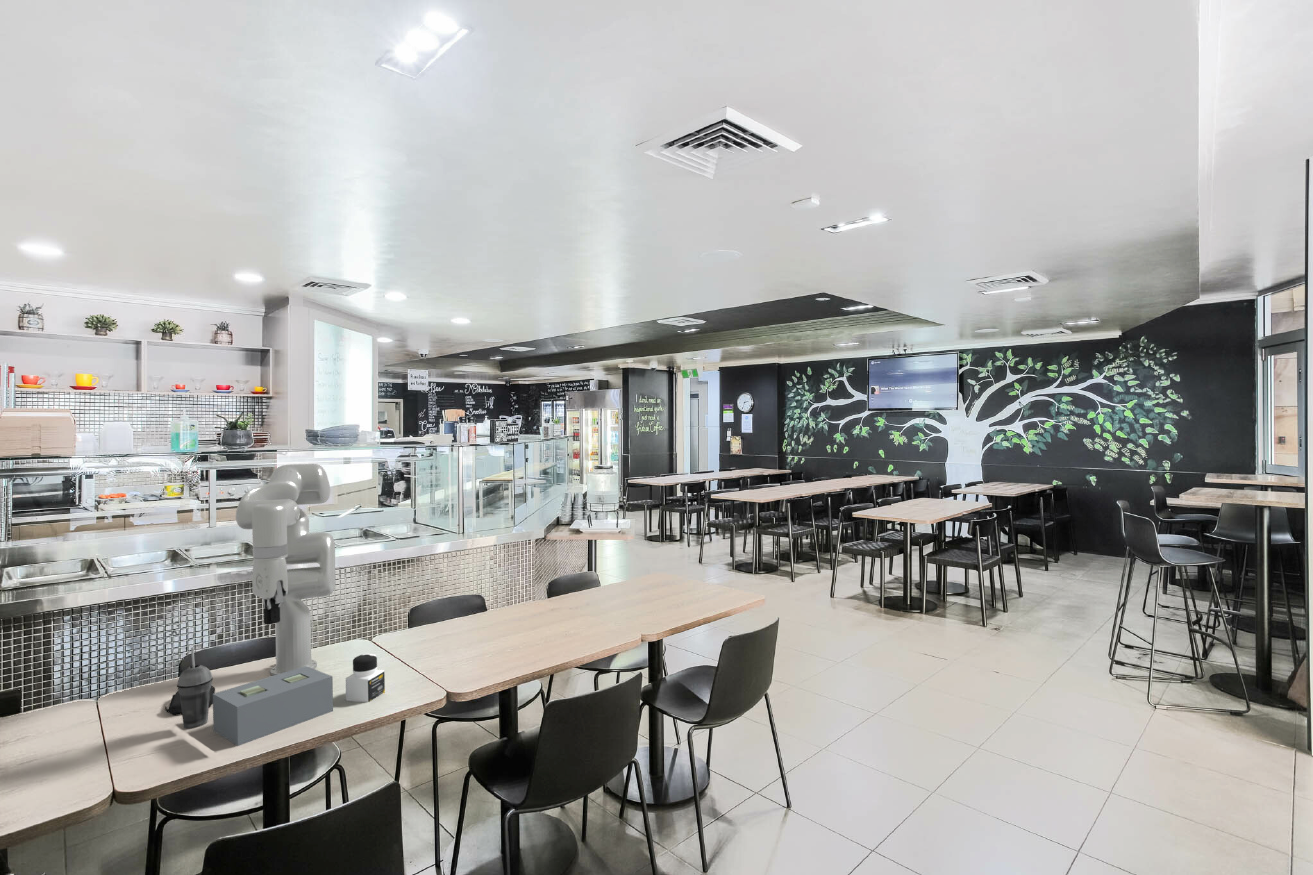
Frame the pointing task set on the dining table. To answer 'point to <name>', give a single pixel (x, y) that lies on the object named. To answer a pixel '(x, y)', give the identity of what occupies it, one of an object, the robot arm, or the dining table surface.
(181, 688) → the beverage cup
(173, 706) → the carrying case or bag
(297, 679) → the flush peg
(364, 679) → the medicine bottle
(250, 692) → the proud peg
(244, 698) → the socket block
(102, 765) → the dining table surface
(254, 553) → the robot arm
